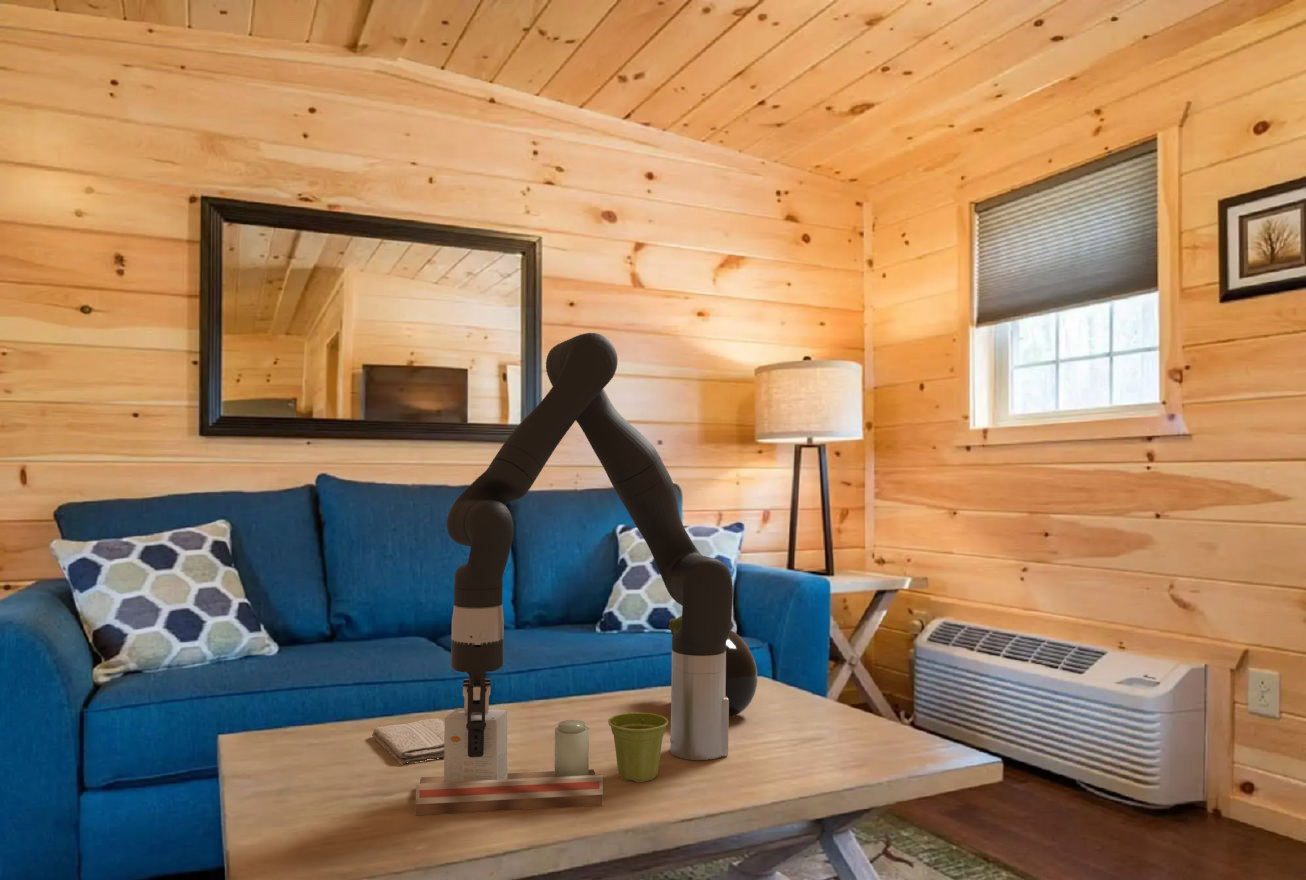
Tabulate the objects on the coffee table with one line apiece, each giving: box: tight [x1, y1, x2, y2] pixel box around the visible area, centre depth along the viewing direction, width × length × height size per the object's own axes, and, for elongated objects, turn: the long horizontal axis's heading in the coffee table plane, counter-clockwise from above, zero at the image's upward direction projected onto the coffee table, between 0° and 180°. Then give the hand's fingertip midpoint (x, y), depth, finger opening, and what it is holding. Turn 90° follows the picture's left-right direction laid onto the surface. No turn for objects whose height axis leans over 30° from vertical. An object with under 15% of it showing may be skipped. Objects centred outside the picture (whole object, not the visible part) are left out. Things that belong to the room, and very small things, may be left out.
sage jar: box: [554, 719, 590, 777], centre depth 137 cm, size 5×5×9 cm
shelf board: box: [414, 768, 604, 816], centre depth 136 cm, size 26×11×4 cm, turn 100°
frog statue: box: [667, 615, 758, 718], centre depth 186 cm, size 19×16×25 cm
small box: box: [443, 707, 508, 782], centre depth 136 cm, size 8×6×10 cm
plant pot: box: [607, 712, 669, 783], centre depth 145 cm, size 9×9×9 cm
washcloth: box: [371, 717, 445, 765], centre depth 159 cm, size 12×18×3 cm, turn 33°
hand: (475, 747), depth 135 cm, fingers open, 8 cm apart
